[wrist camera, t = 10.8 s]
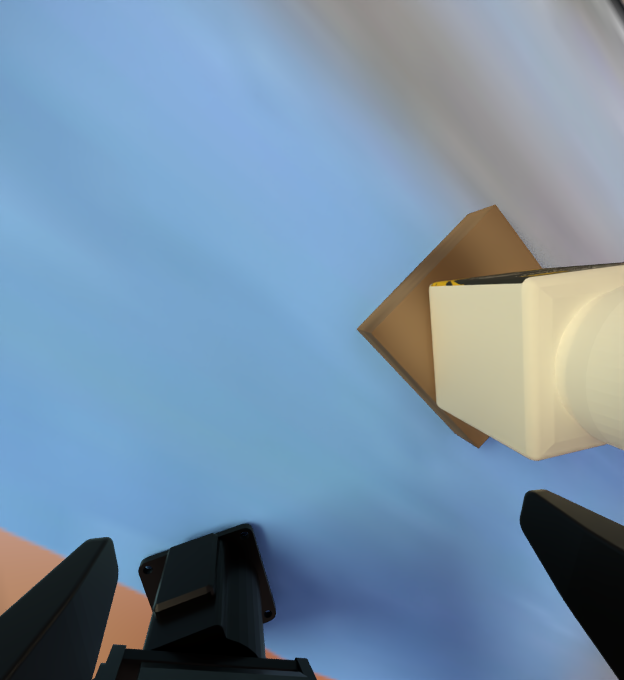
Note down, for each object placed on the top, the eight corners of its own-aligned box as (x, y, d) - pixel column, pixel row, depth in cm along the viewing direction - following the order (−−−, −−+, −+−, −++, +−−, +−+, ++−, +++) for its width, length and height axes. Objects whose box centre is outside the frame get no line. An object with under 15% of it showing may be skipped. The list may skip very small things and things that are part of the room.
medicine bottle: (538, 268, 21) (919, 238, 9) (540, 386, 22) (884, 493, 10) (425, 283, 20) (703, 269, 8) (434, 407, 21) (689, 557, 9)
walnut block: (449, 430, 24) (478, 448, 22) (353, 328, 22) (370, 333, 19) (546, 326, 25) (587, 330, 22) (462, 216, 23) (495, 204, 20)
